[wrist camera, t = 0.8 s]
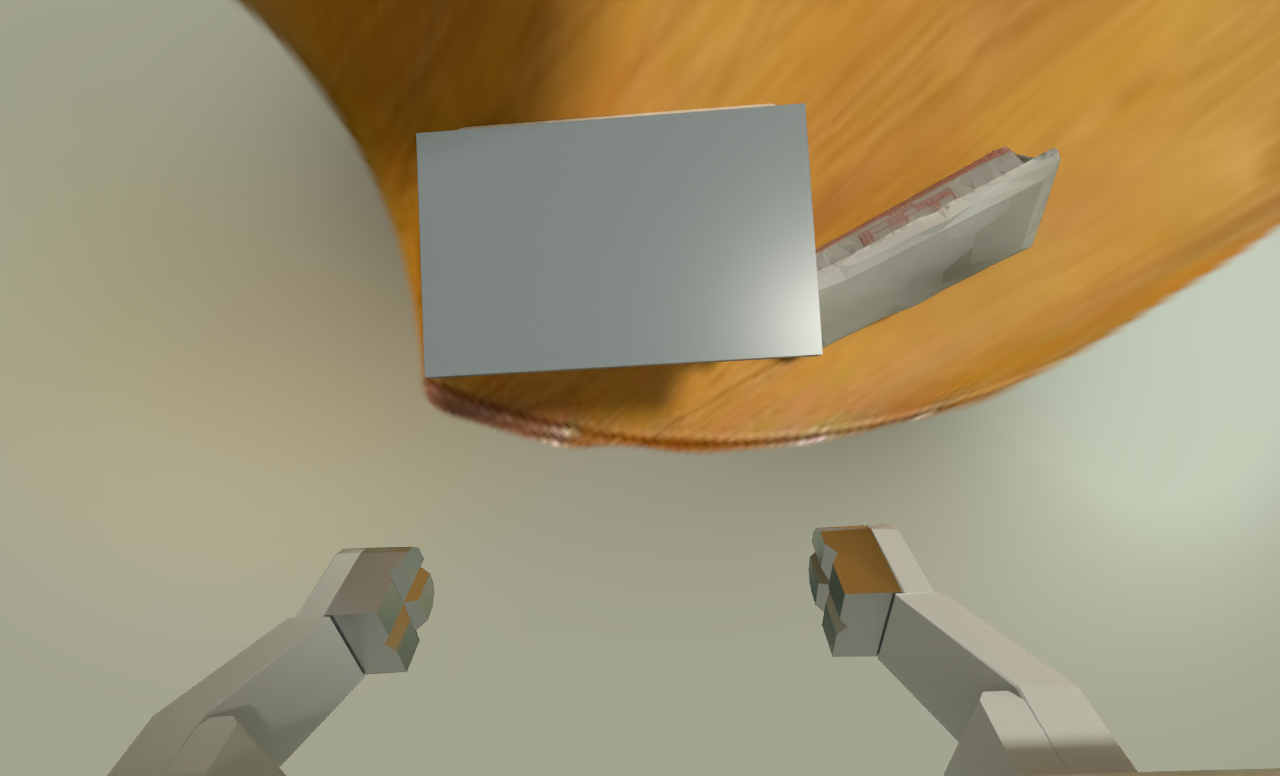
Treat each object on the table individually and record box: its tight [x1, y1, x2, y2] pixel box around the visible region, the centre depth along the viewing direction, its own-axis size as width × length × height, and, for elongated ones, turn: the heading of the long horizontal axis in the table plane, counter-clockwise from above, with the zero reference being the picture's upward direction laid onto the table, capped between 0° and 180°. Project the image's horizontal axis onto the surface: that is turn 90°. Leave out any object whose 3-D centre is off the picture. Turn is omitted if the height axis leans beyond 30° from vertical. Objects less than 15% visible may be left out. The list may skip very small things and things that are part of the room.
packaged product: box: [815, 147, 1060, 348], centre depth 39 cm, size 18×5×10 cm
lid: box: [416, 103, 823, 378], centre depth 30 cm, size 14×22×1 cm
